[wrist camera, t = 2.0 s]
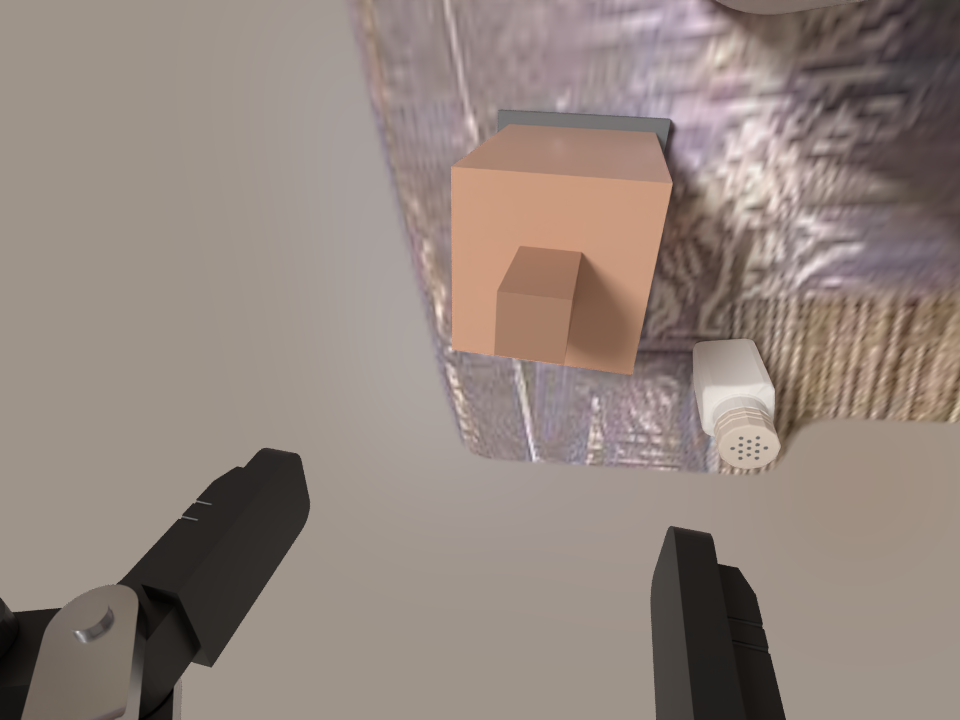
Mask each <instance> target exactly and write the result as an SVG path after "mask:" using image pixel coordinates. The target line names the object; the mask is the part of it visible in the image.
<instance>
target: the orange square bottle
mask: <svg viewBox="0 0 960 720" xmlns="http://www.w3.org/2000/svg"><path fill="white" fill-rule="evenodd" d="M672 185H673V182H672V179H671V176H670V174H669V171H668V168H667V165H666V162H665V159H664V156H663V153H662V150H661V147H660V144H659V141H658V138H657V135H656V133H654V132H637V131H620V130H603V129H585V128H568V127H551V126H534V125H517V124H509V125H507V126H506V127H504V128H503V129H502V130H500V131H499V132H498V133H496V134H495V135H494V136H492V137H491V138H490V139H488V140H487V141H486V142H484V143H483V144H481V145H480V146H479V147H477V148H476V149H475V150H473V151H472V152H471V153H469V154H468V155H467V156H465V157H464V158H462V159H461V160H460V161H458V162H457V163H456V164H454V165H453V166H452V167H451V201H452V350H459V351H466V352H473V353H480V354H487V355H494V356H502V357H509V358H516V359H523V360H530V361H537V362H544V363H551V364H558V365H565V366H572V367H579V368H586V369H593V370H600V371H607V372H614V373H621V374H628V375H632V373H633V368H634V363H635V358H636V354H637V349H638V344H639V340H640V335H641V330H642V326H643V321H644V316H645V312H646V307H647V302H648V298H649V293H650V288H651V283H652V279H653V274H654V269H655V265H656V260H657V255H658V251H659V246H660V241H661V237H662V232H663V227H664V223H665V218H666V213H667V208H668V204H669V199H670V194H671V190H672Z"/></svg>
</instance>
